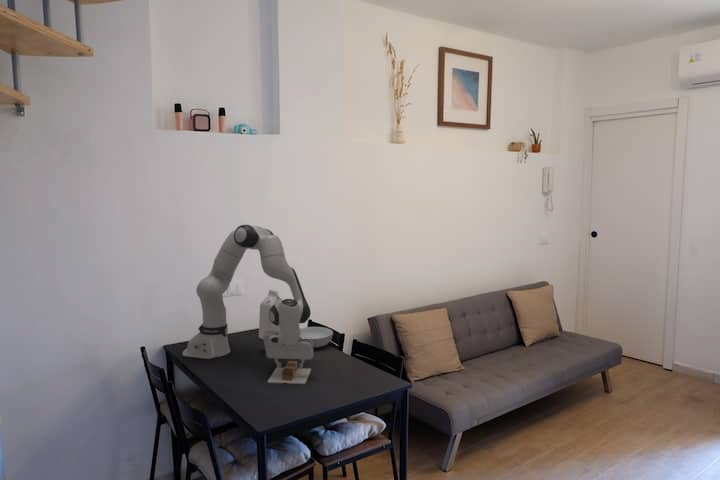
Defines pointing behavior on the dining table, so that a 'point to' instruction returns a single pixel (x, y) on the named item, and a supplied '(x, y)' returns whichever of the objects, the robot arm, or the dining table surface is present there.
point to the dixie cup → (266, 336)
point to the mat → (298, 378)
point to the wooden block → (289, 370)
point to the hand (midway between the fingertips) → (290, 367)
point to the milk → (264, 312)
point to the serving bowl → (317, 335)
